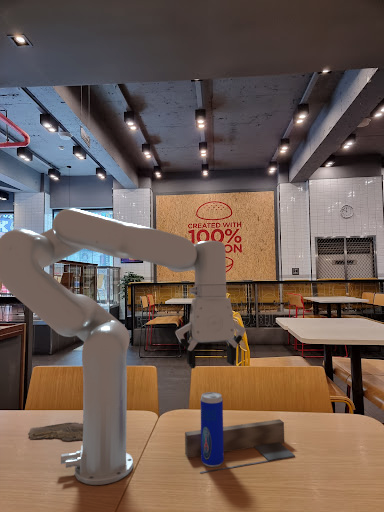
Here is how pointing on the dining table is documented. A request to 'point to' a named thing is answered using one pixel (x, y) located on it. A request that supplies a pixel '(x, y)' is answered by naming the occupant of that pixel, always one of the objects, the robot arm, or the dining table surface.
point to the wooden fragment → (58, 432)
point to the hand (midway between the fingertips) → (211, 365)
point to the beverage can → (212, 429)
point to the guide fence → (246, 441)
